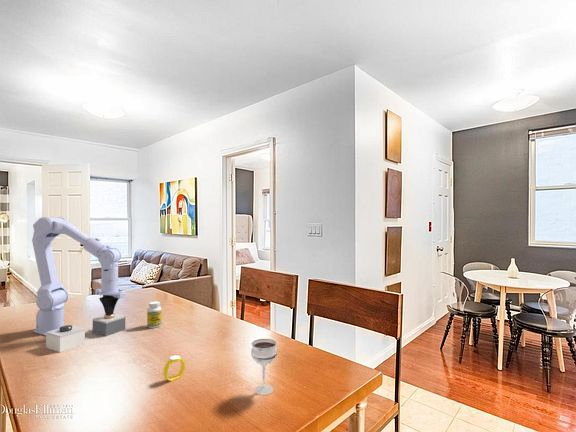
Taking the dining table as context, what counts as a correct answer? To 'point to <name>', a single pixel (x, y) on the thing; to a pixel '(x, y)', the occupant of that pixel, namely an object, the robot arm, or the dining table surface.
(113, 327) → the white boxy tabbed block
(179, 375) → the gold diamond ring
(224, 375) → the dining table surface
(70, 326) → the doorknob dark gray
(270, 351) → the wineglass
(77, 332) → the press white
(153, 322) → the supplement bottle
